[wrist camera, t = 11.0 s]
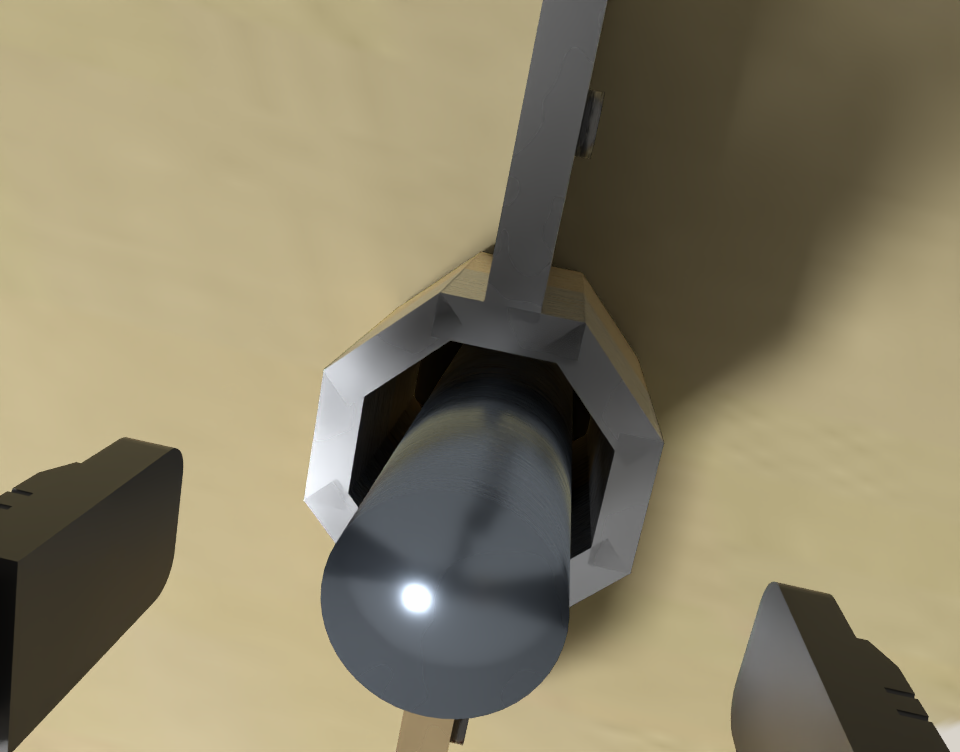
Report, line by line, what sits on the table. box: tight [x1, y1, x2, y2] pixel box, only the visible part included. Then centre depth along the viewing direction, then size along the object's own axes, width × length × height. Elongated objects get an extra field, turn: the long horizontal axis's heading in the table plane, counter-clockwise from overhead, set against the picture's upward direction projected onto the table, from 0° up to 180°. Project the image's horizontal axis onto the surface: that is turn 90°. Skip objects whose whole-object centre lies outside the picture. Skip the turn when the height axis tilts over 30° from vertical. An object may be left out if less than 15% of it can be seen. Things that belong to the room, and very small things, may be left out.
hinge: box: [304, 0, 664, 752], centre depth 20 cm, size 20×6×7 cm, turn 169°
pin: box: [321, 343, 573, 719], centre depth 17 cm, size 3×3×12 cm
